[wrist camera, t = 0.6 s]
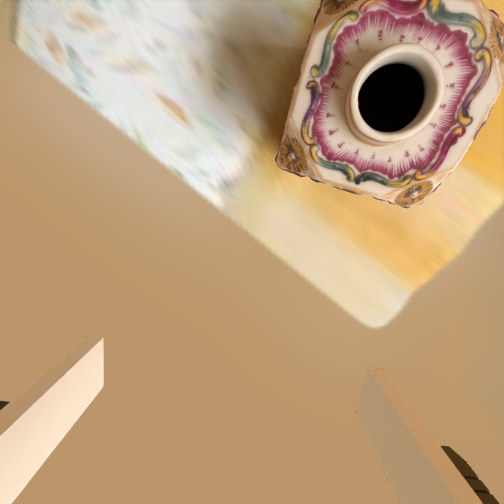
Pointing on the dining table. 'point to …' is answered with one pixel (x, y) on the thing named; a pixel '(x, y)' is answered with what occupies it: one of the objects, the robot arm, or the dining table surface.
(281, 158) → the decorative jar
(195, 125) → the dining table surface
